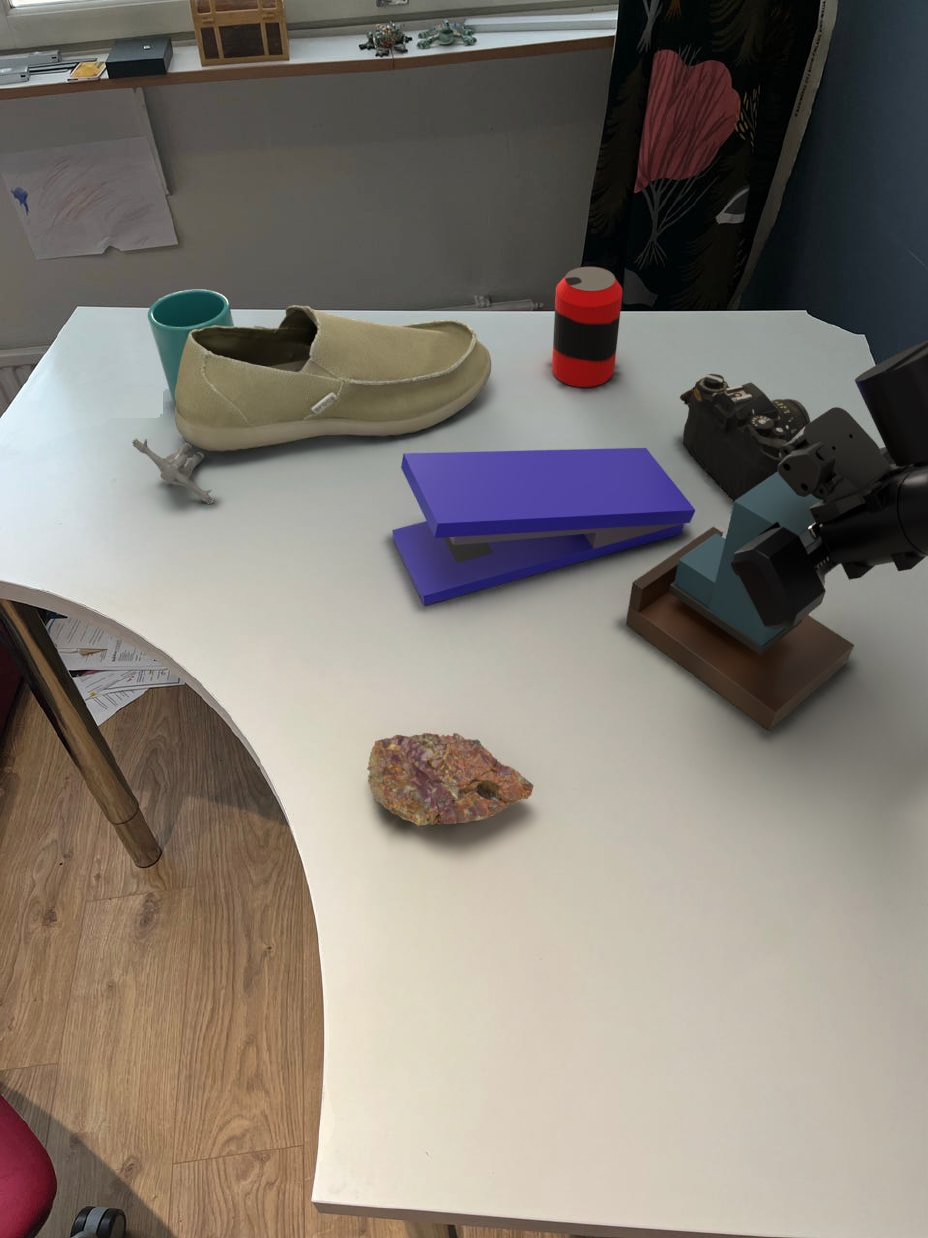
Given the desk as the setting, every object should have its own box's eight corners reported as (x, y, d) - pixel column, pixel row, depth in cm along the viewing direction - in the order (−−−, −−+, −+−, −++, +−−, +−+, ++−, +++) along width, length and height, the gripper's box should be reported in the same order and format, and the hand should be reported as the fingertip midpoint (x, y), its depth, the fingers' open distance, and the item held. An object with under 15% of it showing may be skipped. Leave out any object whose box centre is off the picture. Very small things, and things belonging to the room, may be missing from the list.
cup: (250, 358, 117) (232, 273, 109) (246, 412, 109) (226, 325, 101) (178, 364, 117) (154, 280, 109) (169, 419, 109) (142, 332, 100)
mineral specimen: (504, 714, 76) (518, 705, 70) (525, 807, 75) (542, 806, 68) (360, 745, 74) (361, 738, 68) (379, 841, 73) (382, 843, 66)
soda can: (543, 360, 115) (547, 268, 106) (600, 350, 117) (609, 258, 108) (563, 393, 110) (569, 299, 102) (623, 382, 112) (634, 288, 103)
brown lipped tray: (846, 663, 81) (864, 621, 77) (768, 731, 76) (784, 689, 72) (703, 568, 90) (713, 525, 86) (625, 624, 85) (632, 581, 81)
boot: (801, 622, 79) (842, 505, 70) (760, 656, 77) (797, 539, 67) (709, 563, 84) (735, 446, 75) (668, 592, 82) (690, 475, 72)
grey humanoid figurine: (244, 463, 103) (222, 490, 95) (213, 501, 105) (189, 530, 97) (169, 403, 100) (139, 425, 92) (139, 444, 102) (108, 468, 94)
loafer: (511, 413, 108) (515, 313, 99) (193, 485, 99) (166, 382, 89) (466, 354, 117) (467, 257, 108) (172, 415, 107) (145, 314, 98)
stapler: (391, 535, 94) (382, 457, 87) (638, 471, 100) (649, 393, 93) (427, 612, 86) (421, 534, 79) (691, 537, 93) (708, 458, 85)
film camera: (849, 482, 98) (878, 402, 91) (776, 533, 93) (800, 453, 85) (717, 409, 107) (734, 331, 100) (644, 452, 102) (656, 373, 95)
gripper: (952, 350, 64) (784, 416, 78) (787, 462, 56) (632, 514, 70) (1016, 492, 65) (840, 533, 79) (865, 622, 57) (698, 641, 71)
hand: (756, 551), depth 75 cm, fingers closed on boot, 5 cm apart
